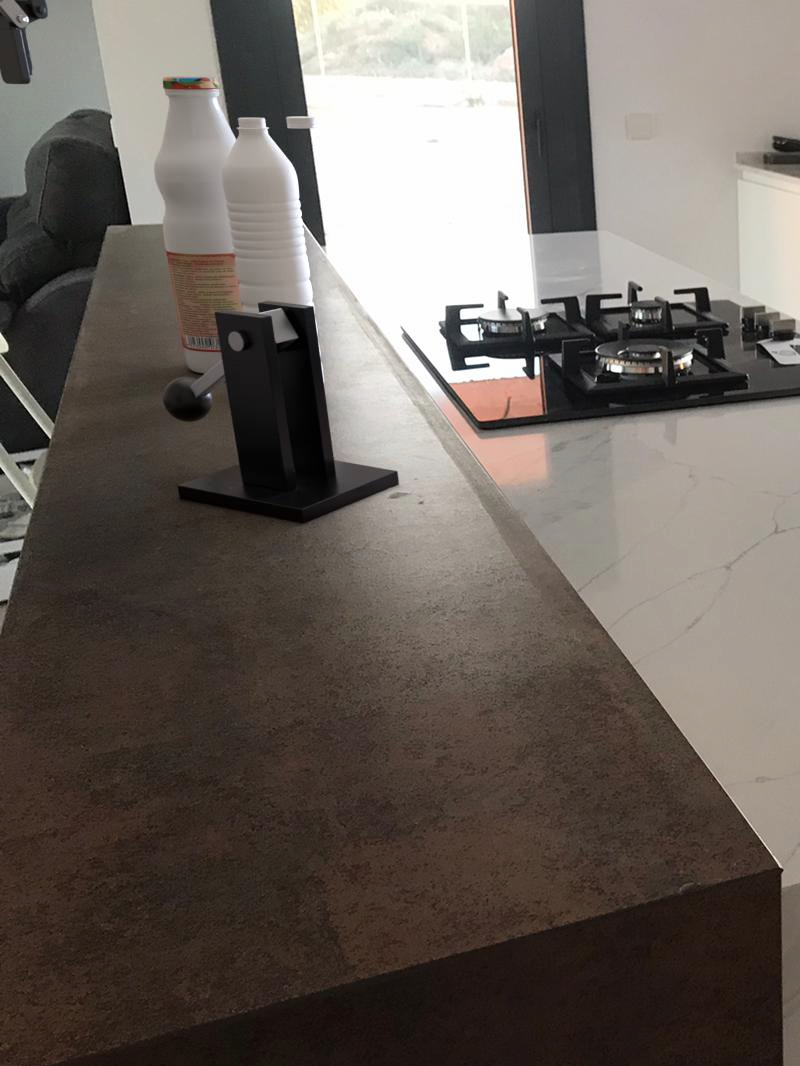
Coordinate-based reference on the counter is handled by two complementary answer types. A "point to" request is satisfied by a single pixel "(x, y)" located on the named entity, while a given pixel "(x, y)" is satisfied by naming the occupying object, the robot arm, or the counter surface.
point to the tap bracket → (280, 426)
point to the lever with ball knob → (215, 378)
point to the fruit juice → (197, 215)
